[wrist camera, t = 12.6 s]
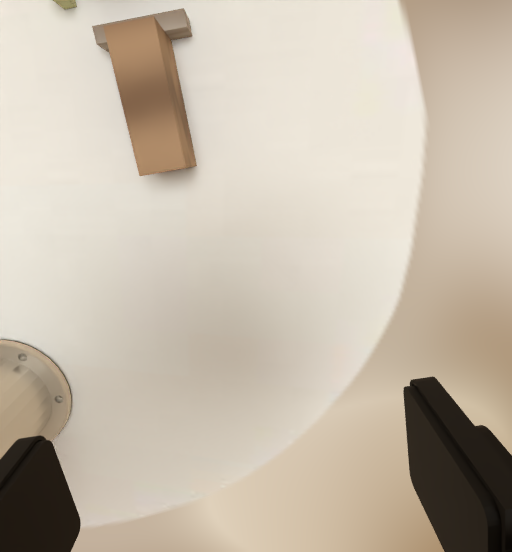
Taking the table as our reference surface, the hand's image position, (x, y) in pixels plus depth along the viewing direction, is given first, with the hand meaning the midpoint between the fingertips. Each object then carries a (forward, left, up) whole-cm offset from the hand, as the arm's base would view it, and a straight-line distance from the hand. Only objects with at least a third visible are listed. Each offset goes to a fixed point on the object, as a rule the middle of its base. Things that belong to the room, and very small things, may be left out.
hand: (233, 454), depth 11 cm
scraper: (+6, +12, -28) cm, 31 cm away
